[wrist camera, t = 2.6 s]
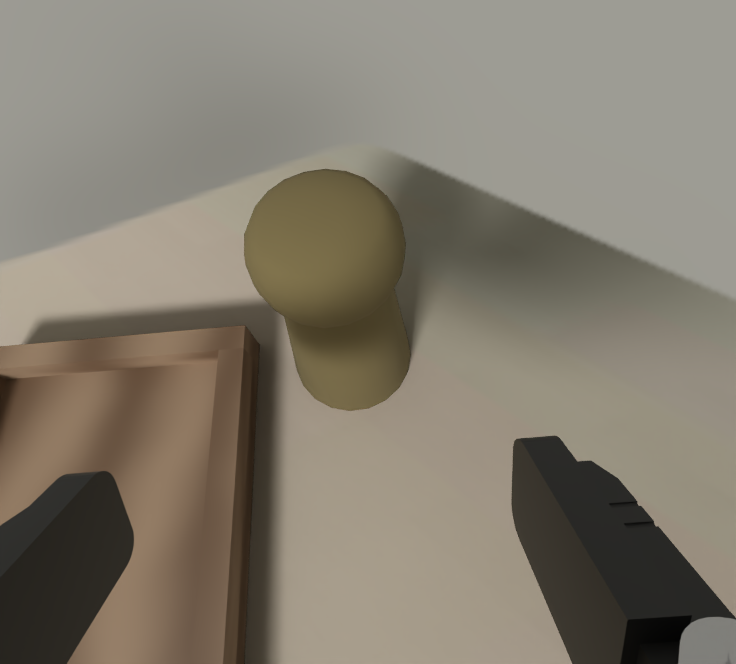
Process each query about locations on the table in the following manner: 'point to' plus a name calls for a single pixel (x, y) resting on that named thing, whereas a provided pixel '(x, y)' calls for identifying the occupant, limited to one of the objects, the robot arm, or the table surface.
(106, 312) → the table surface
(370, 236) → the cork
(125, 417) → the walnut tray
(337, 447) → the table surface
